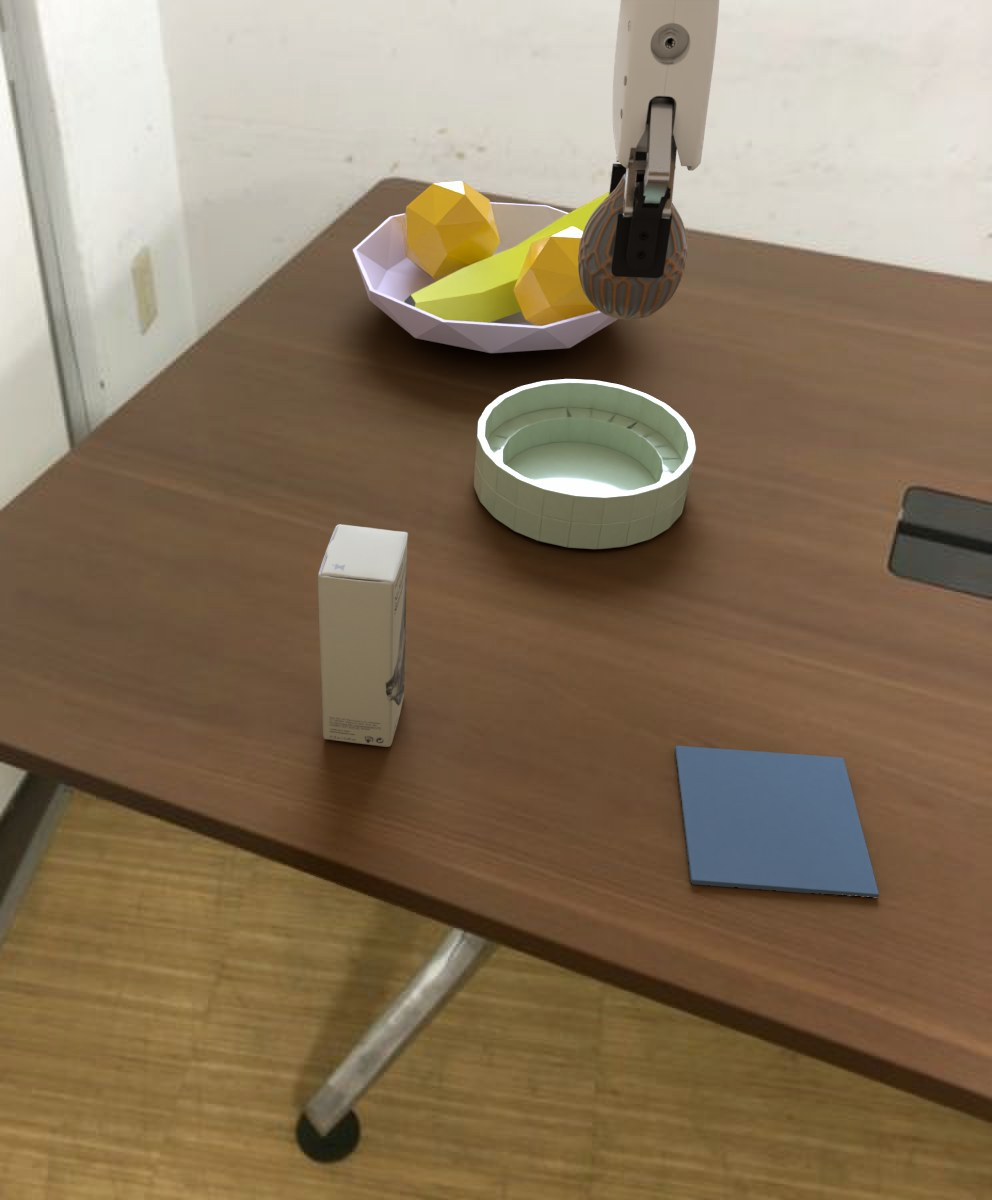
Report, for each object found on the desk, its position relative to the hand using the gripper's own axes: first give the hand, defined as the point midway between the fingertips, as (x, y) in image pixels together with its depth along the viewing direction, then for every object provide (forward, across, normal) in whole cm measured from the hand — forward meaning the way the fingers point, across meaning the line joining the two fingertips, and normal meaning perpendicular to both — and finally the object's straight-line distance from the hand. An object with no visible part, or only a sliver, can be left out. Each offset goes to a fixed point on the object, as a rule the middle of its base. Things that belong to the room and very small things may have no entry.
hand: (633, 247), depth 80 cm
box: (+21, -23, +15) cm, 35 cm away
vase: (+4, 0, 0) cm, 4 cm away
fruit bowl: (+21, +31, +8) cm, 38 cm away
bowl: (+21, +3, +1) cm, 21 cm away
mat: (+21, -29, -9) cm, 37 cm away
